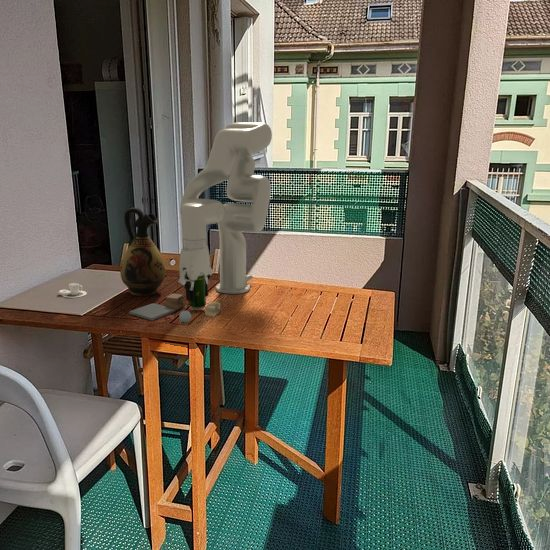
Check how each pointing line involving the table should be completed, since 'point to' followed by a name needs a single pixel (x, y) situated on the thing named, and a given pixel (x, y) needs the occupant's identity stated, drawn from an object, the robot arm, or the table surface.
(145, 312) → the coaster
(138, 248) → the ceramic jug
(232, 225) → the robot arm
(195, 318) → the table surface
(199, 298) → the beer can
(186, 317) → the grey ball
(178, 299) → the tan cube
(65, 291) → the teacup and saucer
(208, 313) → the beech block
